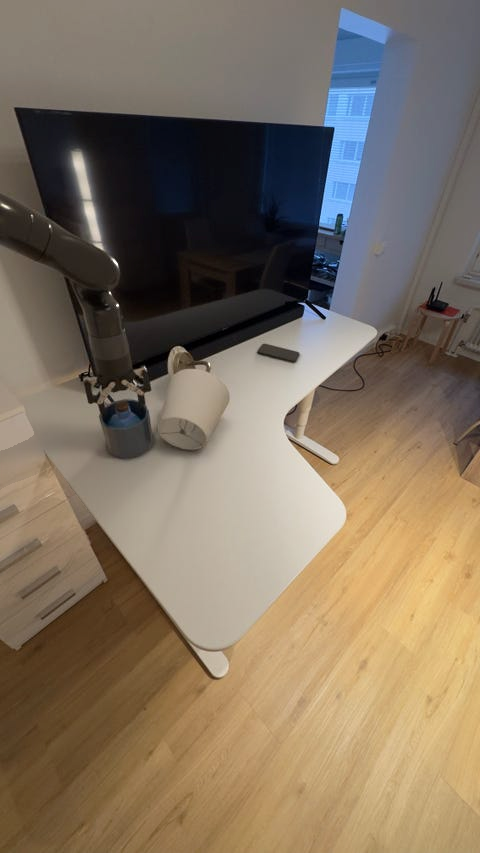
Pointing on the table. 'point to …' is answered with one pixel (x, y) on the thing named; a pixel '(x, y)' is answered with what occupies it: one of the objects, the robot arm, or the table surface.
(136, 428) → the holder
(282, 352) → the phone
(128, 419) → the perfume bottle
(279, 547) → the table surface
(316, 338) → the table surface
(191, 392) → the light fixture
